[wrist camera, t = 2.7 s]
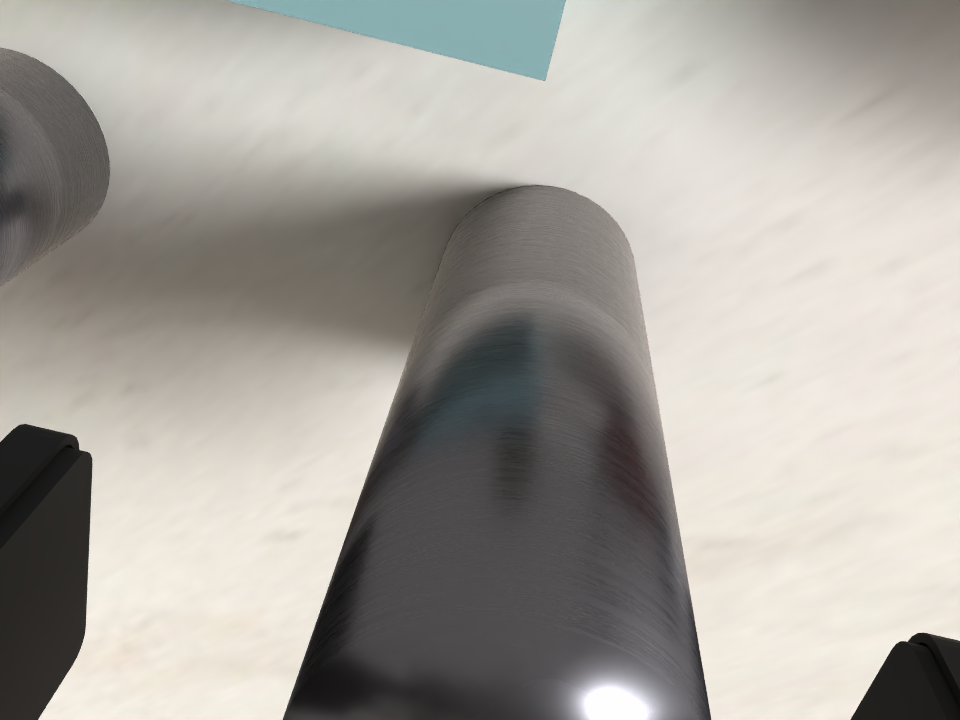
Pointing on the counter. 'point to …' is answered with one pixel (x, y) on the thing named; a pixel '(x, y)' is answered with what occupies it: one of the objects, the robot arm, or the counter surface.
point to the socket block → (445, 27)
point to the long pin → (516, 498)
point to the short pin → (44, 162)
